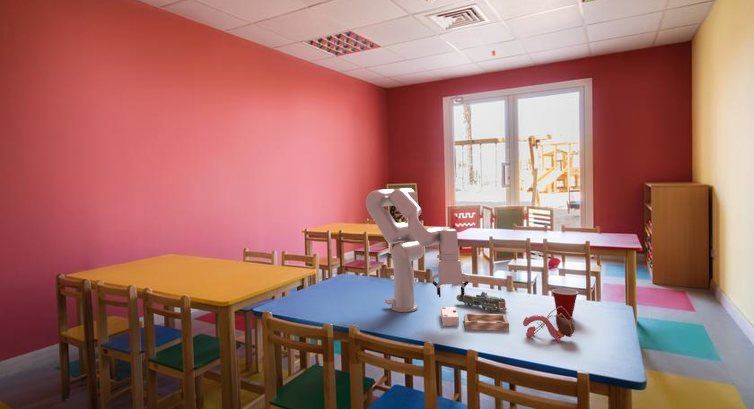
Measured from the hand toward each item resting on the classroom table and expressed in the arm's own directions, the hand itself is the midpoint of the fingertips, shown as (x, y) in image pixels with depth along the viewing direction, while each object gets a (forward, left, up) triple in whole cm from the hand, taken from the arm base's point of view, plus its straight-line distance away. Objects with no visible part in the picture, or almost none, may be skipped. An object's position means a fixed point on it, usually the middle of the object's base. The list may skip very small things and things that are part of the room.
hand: (450, 296), depth 186 cm
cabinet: (+14, -5, -11) cm, 18 cm away
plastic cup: (+49, +8, -11) cm, 51 cm away
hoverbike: (+14, +19, -11) cm, 26 cm away
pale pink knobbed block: (-1, 0, -11) cm, 11 cm away
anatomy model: (+37, -16, -11) cm, 42 cm away
